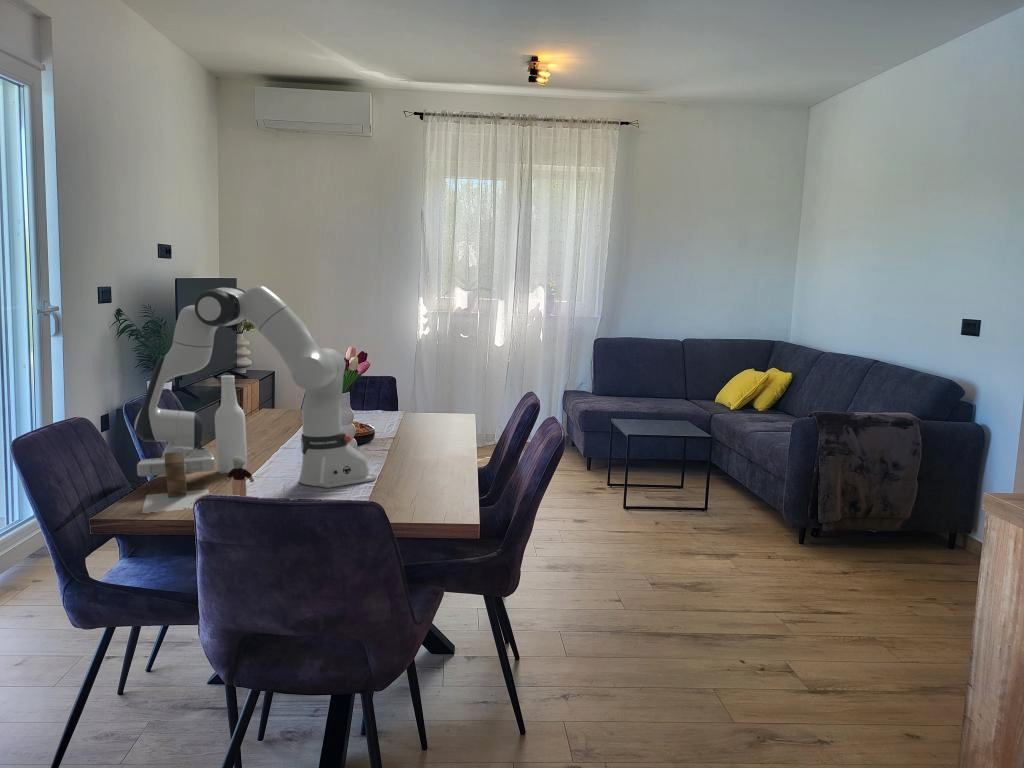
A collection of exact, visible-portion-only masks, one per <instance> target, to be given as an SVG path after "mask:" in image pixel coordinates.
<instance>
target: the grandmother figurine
mask: <svg viewBox="0 0 1024 768" xmlns="http://www.w3.org/2000/svg"><path fill="white" fill-rule="evenodd" d="M232 461H233V466H234V469H232V470H231V471H230V472H229V473H227V477H226V480H225V481H226V483H230V482H231V479H232V490H231V491H232V495H240V496H246V497H247V482H246V478H247V479H248V480H249V482H250V483H254V481H255V480H254V478H253V474H252V473H251V472H250V471H248V469H246V470H245V469H243V468H242V467H243V465H244V464H245V463H246V462H245V460H244V458H242V457H241V456H234V457H233V460H232Z"/></svg>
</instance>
